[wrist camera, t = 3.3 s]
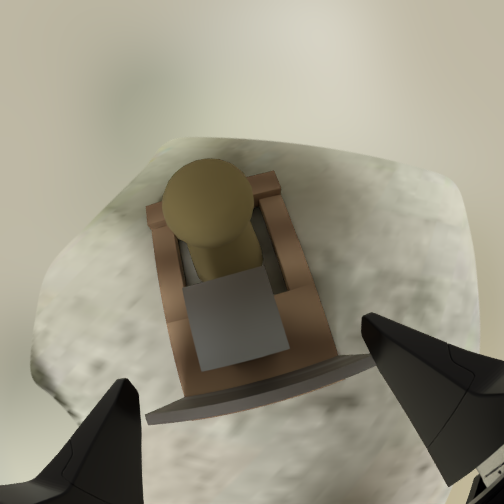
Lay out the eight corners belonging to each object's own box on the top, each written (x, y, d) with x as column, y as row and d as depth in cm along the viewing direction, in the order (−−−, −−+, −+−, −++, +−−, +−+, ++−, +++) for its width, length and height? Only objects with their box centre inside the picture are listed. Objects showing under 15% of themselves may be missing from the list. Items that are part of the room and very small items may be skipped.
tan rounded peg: (210, 220, 25) (178, 136, 15) (272, 238, 24) (275, 154, 14) (183, 279, 23) (127, 219, 13) (249, 302, 22) (235, 254, 12)
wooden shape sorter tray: (341, 378, 19) (409, 393, 9) (195, 417, 18) (134, 463, 8) (273, 184, 26) (275, 89, 15) (154, 217, 25) (100, 139, 15)
